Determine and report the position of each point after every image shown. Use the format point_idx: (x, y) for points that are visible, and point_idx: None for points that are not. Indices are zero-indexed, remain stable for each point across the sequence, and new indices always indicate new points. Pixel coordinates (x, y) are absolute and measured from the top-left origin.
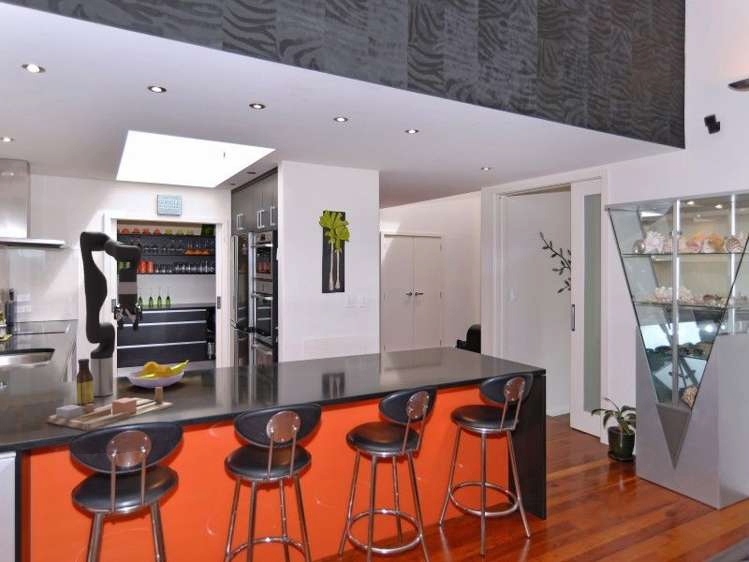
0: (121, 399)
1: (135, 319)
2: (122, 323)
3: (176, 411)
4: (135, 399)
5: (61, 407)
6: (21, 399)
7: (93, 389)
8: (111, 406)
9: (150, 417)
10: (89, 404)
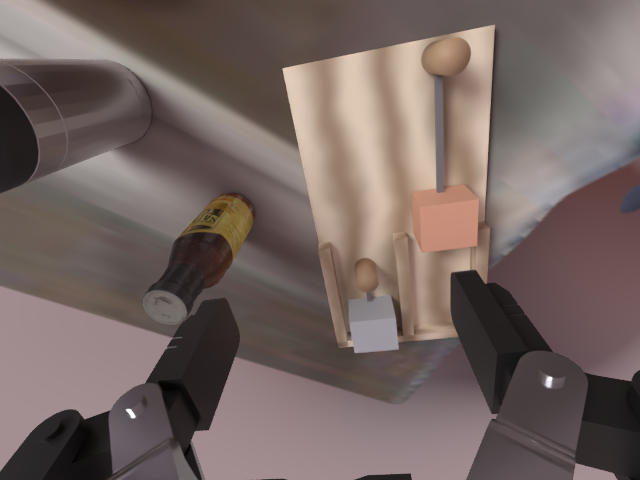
0: (430, 227)
1: (579, 459)
2: (199, 365)
3: (564, 72)
4: (476, 201)
5: (356, 344)
6: (40, 273)
7: (226, 214)
8: (332, 191)
9: (526, 173)
10: (364, 283)
